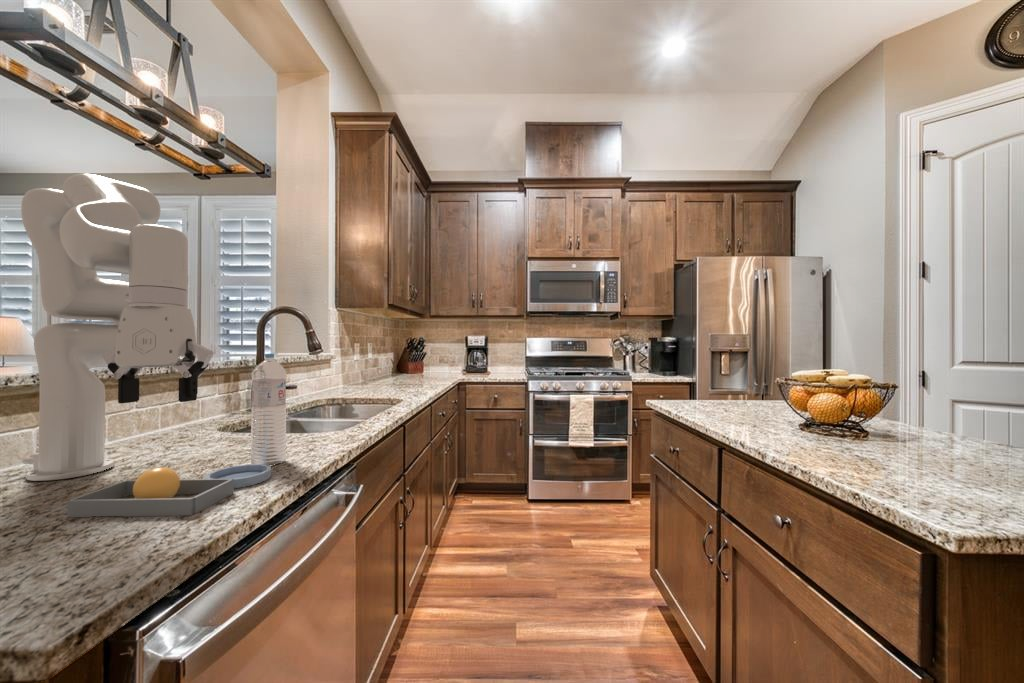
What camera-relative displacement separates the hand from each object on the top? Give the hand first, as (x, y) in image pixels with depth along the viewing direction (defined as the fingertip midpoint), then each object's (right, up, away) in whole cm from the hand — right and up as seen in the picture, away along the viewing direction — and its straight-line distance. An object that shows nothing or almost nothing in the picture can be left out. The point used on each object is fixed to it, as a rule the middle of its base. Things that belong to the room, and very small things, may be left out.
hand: (158, 401), depth 68 cm
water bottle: (+4, -18, +24) cm, 30 cm away
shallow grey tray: (0, -17, 0) cm, 17 cm away
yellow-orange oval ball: (0, -17, 0) cm, 17 cm away
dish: (+5, -17, +12) cm, 22 cm away
